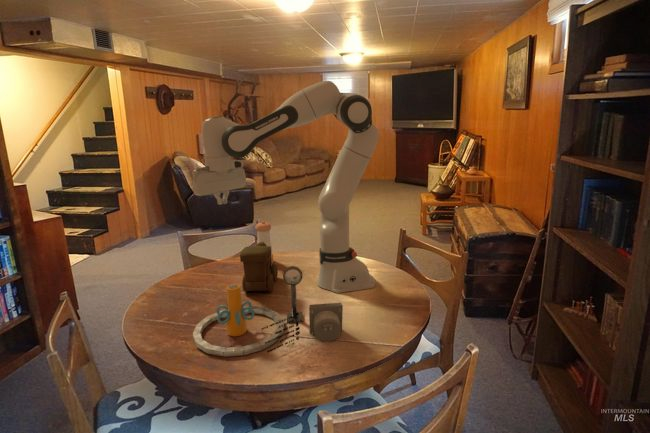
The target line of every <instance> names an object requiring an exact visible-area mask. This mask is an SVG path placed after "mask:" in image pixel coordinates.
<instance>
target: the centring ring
mask: <svg viewBox="0 0 650 433" xmlns="http://www.w3.org/2000/svg"><path fill="white" fill-rule="evenodd" d="M244 307H249V305H244V306H243V308H244ZM252 309H253V310H254V313H255V314H257V315H264V316H266V317H268V318H269V319H270V318H271V319H272V320H273V321H274V323H275V325H276V328H275V329H274V331H273V332H272V333H271V334H270V335H268V336H267V337H265V338H264V339H262V340H260V341H258V342H254V343H251V344H248V345H247V344H246V345H244V346H232V347H230V346H229V347H224V346H218V345H214V344H211V343H209V342H207V341H206V340H204V339H203V337H202V334H203V332H204V329H206V328H208V326H209V325H211V324H212V323H213V322H216V321H218V320H217V318H218V314H217V312H216V311H215V313H211V314H209V315H207V316H205V317H204V318H203V319H201V321H200V322H198V323H196V326H195V328H194V330H193V332H192V338H193V341H194V344H195V346H196V348H197V349H199V350H201V351H203V352H204V353H206V354H208V355H214V356H219V357H224V358H225V357H236V356H238V357H239V356H246V355H249V354H253V353H257V352H260V351H262V350H265V349H266V348H268V347H270V346H272V345H273V344H275V343H277V342H278V340H279V339H275V338H276V337H279V336H281V335H283V334H284V333H285V331H283V329H285V326H284V324H285V321H284V320H285V318H283V316H281V315H280V313H279V312H278V311H275V310H273V309H271V308H268V307H262V306H255V305H252ZM223 310H226V309H225V308H224V309H221V310H219V313H220V312H221V311H223ZM246 311H248V309H246V310H244V312H246ZM226 314H227V313H223V314H222V315H226ZM248 314H252V312H251V311H250V312H249V313H248ZM220 319H222V318H221V317H220ZM282 319H283V322H282ZM279 321H280V322H281V323H278V324H277V322H279ZM282 325H283V327H282ZM279 326H280V328H279ZM277 331H282V332H280V333H278V334H275V332H277ZM271 339H275V340H273V341H271ZM269 340H270V342H269V343H268V342H267V341H269ZM265 342H267V343H265Z"/></svg>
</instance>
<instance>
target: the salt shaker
mask: <svg viewBox="0 0 650 433" xmlns="http://www.w3.org/2000/svg"><path fill="white" fill-rule="evenodd" d="M254 228H255V231H256V232H257V244H258V243H259V242H264V243H265V244H266V246H270V247H271V265H272V264H274V254H273V246H272V242H271V234H270V233H271V229H272V225H271V223H270V222H266V221H264V220H262V221H261V222H258V223H256V224H255V226H254ZM257 244H256V245H257Z"/></svg>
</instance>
